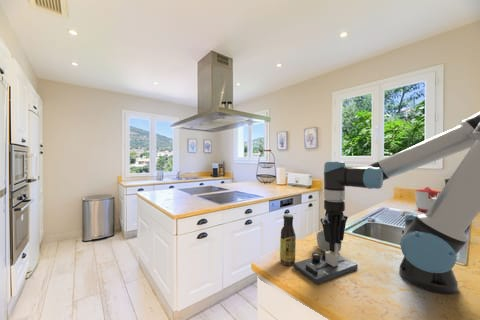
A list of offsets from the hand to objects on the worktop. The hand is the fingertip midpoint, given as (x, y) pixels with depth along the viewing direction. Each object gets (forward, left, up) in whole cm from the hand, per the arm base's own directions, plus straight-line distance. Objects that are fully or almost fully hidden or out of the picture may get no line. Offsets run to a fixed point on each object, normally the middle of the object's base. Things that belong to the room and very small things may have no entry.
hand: (334, 258), depth 80 cm
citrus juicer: (+25, -141, -4) cm, 143 cm away
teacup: (+13, -11, -4) cm, 17 cm away
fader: (0, +2, -1) cm, 2 cm away
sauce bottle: (+12, +14, -4) cm, 18 cm away
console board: (+1, +4, -4) cm, 5 cm away
